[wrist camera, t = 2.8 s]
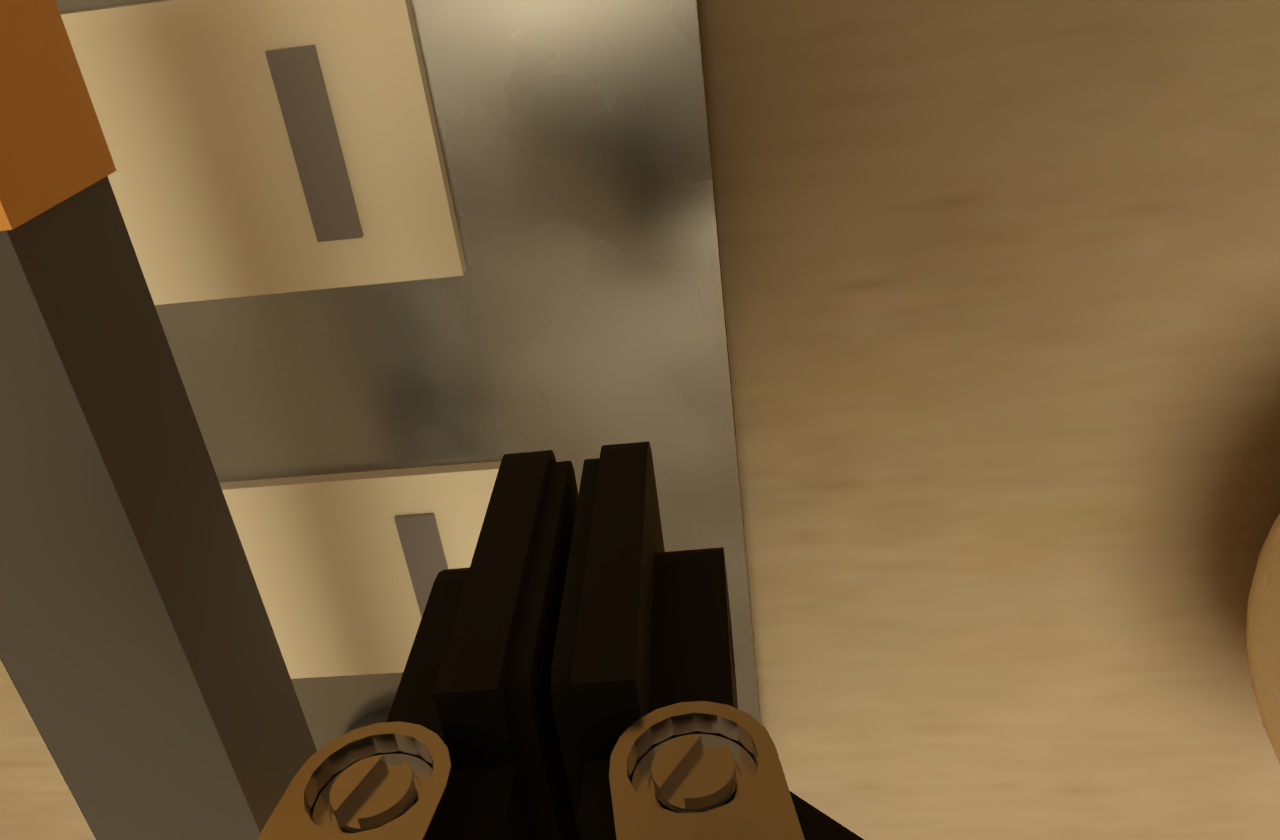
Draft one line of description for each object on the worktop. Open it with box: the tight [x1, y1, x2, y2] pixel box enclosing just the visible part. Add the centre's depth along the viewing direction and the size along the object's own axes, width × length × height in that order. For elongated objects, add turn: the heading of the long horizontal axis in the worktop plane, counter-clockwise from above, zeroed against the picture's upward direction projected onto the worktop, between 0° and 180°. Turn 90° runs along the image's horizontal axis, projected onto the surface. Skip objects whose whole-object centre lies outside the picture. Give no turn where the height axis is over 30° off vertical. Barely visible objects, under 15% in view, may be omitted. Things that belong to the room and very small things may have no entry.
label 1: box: [60, 0, 467, 305], centre depth 18 cm, size 5×7×1 cm
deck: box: [55, 0, 761, 751], centre depth 19 cm, size 21×16×7 cm
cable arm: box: [0, 0, 317, 840], centre depth 15 cm, size 20×4×2 cm, turn 7°
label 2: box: [220, 461, 501, 679], centre depth 22 cm, size 5×7×1 cm
